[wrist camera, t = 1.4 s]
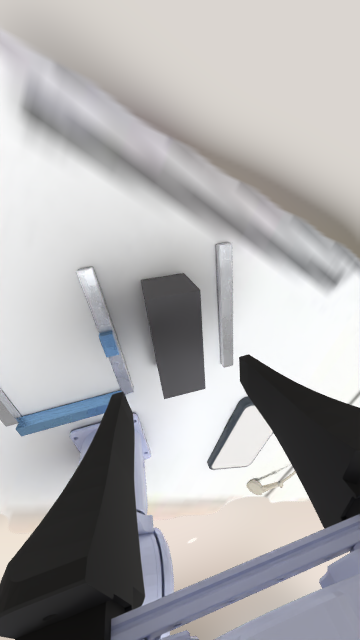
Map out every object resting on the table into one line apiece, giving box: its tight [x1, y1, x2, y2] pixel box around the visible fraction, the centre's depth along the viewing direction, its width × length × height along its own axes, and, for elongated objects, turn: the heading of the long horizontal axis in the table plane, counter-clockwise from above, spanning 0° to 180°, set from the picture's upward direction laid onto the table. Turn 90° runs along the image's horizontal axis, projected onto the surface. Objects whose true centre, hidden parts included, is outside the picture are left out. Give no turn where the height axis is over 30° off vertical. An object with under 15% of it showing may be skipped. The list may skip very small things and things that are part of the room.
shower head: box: [247, 471, 296, 495], centre depth 43 cm, size 5×3×20 cm
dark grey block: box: [141, 273, 205, 399], centre depth 19 cm, size 10×4×5 cm, turn 6°
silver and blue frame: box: [0, 242, 233, 436], centre depth 20 cm, size 15×25×2 cm, turn 98°
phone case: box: [207, 397, 273, 470], centre depth 33 cm, size 9×2×16 cm
